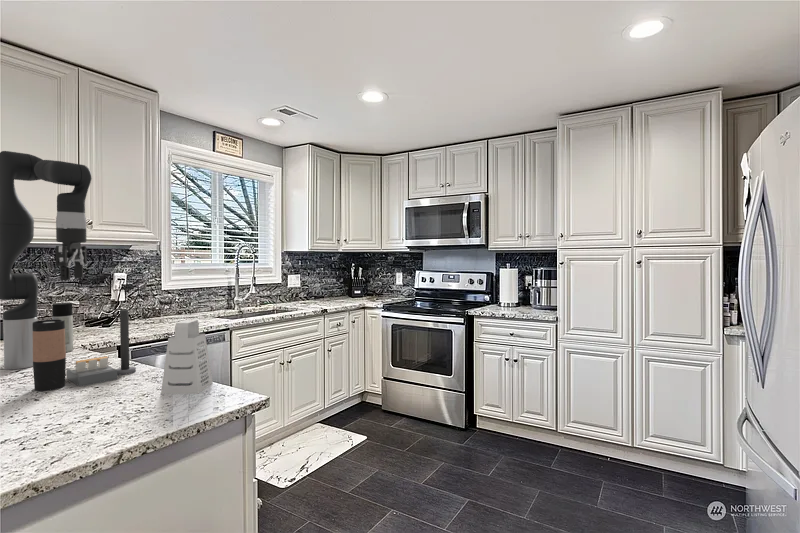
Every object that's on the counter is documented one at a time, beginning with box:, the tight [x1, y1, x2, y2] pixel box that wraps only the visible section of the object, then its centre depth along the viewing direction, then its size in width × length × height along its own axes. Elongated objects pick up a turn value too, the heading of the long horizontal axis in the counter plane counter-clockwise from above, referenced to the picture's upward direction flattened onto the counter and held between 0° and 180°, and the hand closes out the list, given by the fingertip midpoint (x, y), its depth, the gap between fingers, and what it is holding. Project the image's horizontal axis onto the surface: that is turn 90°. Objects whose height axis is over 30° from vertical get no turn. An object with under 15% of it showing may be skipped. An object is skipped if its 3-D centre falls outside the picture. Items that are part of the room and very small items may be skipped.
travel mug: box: [32, 319, 67, 392], centre depth 128 cm, size 8×8×20 cm
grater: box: [160, 319, 214, 395], centre depth 128 cm, size 10×10×20 cm
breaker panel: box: [66, 363, 118, 387], centre depth 138 cm, size 14×10×3 cm
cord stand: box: [115, 309, 136, 376], centre depth 145 cm, size 6×6×21 cm
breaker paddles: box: [75, 356, 109, 372], centre depth 137 cm, size 1×8×3 cm, turn 141°
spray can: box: [51, 302, 74, 353], centre depth 177 cm, size 7×7×20 cm
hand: (72, 279), depth 135 cm, fingers open, 8 cm apart
